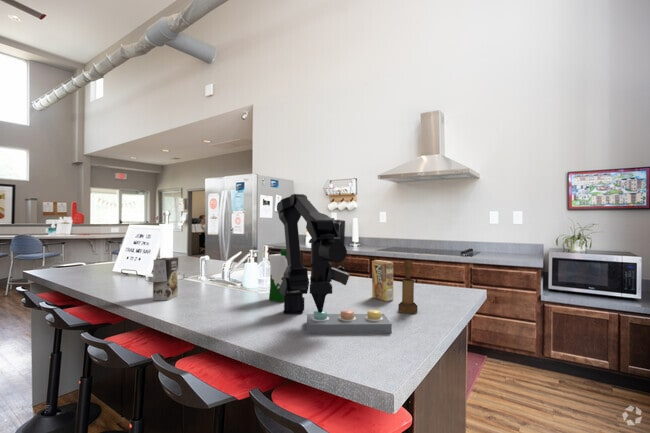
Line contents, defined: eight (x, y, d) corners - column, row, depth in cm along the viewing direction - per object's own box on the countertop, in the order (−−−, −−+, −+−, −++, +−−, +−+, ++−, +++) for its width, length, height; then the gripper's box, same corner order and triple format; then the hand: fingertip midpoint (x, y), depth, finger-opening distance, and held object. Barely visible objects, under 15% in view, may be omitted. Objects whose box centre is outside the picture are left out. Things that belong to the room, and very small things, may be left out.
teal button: (313, 319, 101) (313, 313, 101) (313, 315, 105) (313, 310, 105) (327, 319, 101) (327, 313, 101) (326, 315, 105) (326, 310, 105)
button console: (306, 333, 97) (306, 323, 97) (307, 322, 108) (307, 313, 108) (391, 333, 98) (391, 323, 98) (383, 321, 109) (383, 313, 109)
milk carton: (282, 303, 133) (282, 250, 133) (265, 299, 138) (265, 249, 138) (297, 299, 140) (297, 249, 140) (280, 296, 145) (280, 248, 146)
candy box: (394, 300, 139) (394, 261, 139) (386, 301, 136) (386, 262, 137) (379, 296, 146) (379, 259, 146) (371, 297, 144) (371, 260, 144)
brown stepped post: (414, 314, 117) (414, 261, 117) (395, 312, 120) (395, 260, 121) (419, 310, 123) (419, 259, 123) (402, 308, 126) (402, 258, 126)
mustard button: (368, 319, 101) (368, 313, 101) (366, 315, 105) (366, 310, 105) (382, 319, 101) (382, 313, 101) (379, 315, 105) (379, 310, 105)
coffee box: (168, 300, 136) (168, 259, 136) (152, 300, 136) (152, 259, 136) (178, 295, 145) (179, 257, 145) (163, 295, 145) (163, 257, 145)
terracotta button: (341, 319, 101) (341, 313, 101) (340, 315, 105) (340, 310, 105) (354, 319, 101) (354, 313, 101) (353, 315, 105) (353, 310, 105)
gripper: (350, 263, 94) (350, 321, 94) (344, 256, 112) (344, 304, 112) (309, 263, 93) (309, 321, 93) (310, 256, 112) (310, 304, 112)
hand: (320, 312), depth 103 cm, fingers closed, pressing on teal button
